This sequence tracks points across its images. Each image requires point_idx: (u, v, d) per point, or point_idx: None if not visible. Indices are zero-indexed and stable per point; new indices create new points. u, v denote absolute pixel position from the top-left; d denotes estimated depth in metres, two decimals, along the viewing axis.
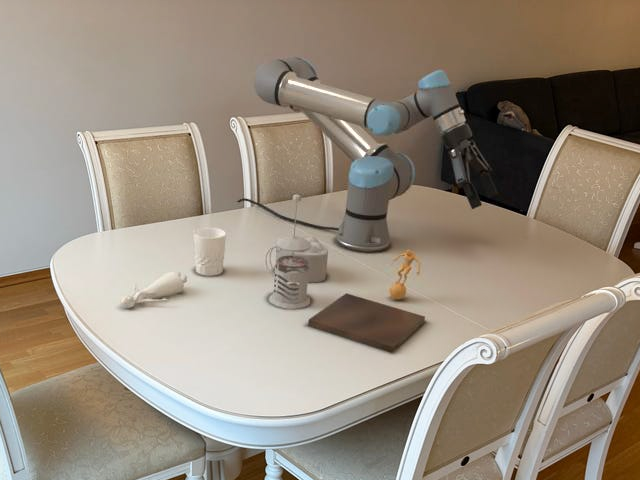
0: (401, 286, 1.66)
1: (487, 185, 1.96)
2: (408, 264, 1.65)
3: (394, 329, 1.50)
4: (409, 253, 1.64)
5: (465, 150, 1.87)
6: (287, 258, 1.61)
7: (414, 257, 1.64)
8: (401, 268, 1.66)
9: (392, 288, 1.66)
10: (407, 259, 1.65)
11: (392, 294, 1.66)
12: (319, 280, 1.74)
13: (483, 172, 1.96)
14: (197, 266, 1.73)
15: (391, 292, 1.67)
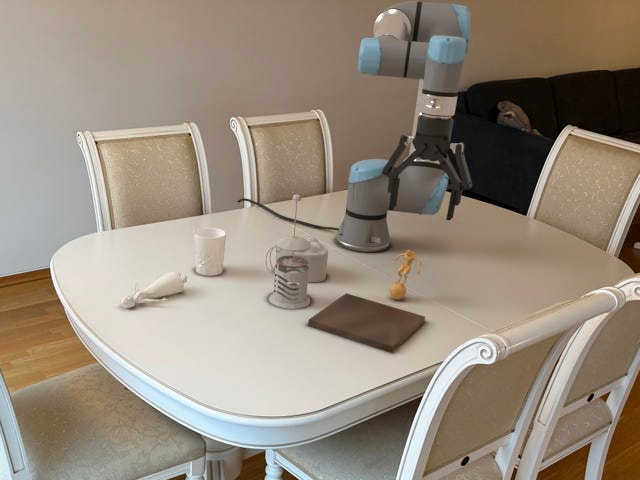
0: (401, 286, 1.66)
1: None
2: (408, 264, 1.65)
3: (394, 329, 1.50)
4: (409, 253, 1.64)
5: (419, 146, 1.52)
6: (287, 258, 1.61)
7: (414, 257, 1.64)
8: (401, 268, 1.66)
9: (392, 288, 1.66)
10: (407, 259, 1.65)
11: (392, 294, 1.66)
12: (319, 280, 1.74)
13: None
14: (197, 266, 1.73)
15: (391, 292, 1.67)
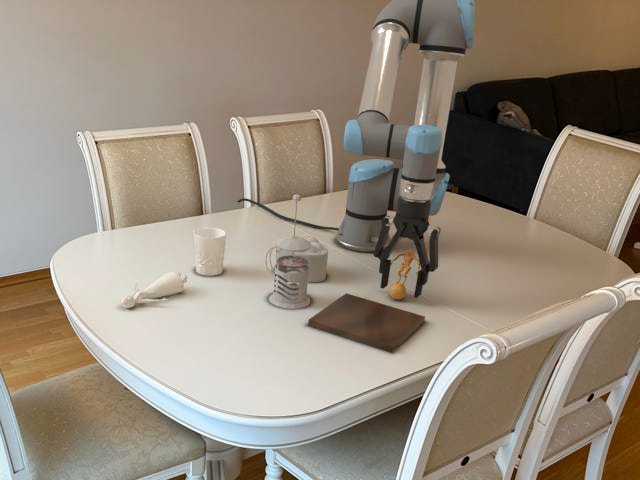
0: (401, 286, 1.66)
1: None
2: (408, 264, 1.65)
3: (394, 329, 1.50)
4: (409, 253, 1.64)
5: None
6: (287, 258, 1.61)
7: (414, 257, 1.64)
8: (401, 268, 1.66)
9: (392, 288, 1.66)
10: (407, 259, 1.65)
11: (392, 294, 1.66)
12: (319, 280, 1.74)
13: None
14: (197, 266, 1.73)
15: (391, 292, 1.67)
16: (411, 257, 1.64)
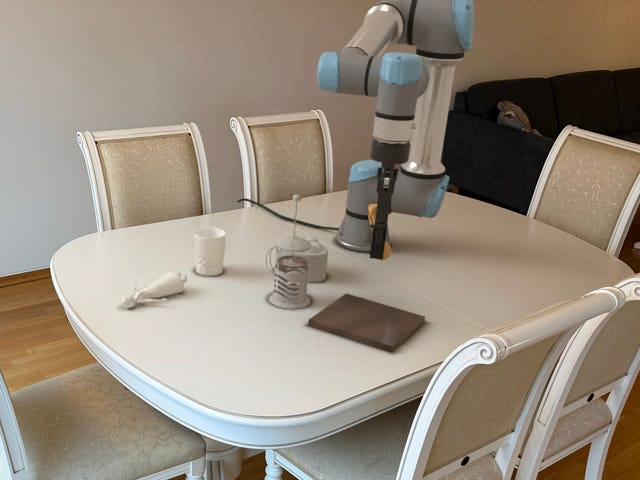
0: (385, 242, 1.47)
1: None
2: None
3: (394, 329, 1.50)
4: None
5: (394, 178, 1.37)
6: (287, 258, 1.61)
7: None
8: None
9: (389, 248, 1.45)
10: None
11: (390, 253, 1.46)
12: (319, 280, 1.74)
13: None
14: (197, 266, 1.73)
15: (389, 253, 1.46)
16: None
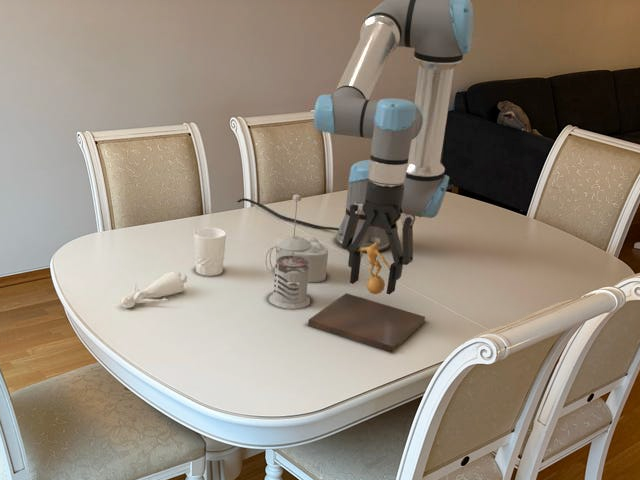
0: None
1: (357, 267, 1.51)
2: None
3: (394, 329, 1.50)
4: None
5: None
6: (287, 258, 1.61)
7: None
8: None
9: None
10: None
11: None
12: (319, 280, 1.74)
13: (356, 249, 1.50)
14: (197, 266, 1.73)
15: None
16: None
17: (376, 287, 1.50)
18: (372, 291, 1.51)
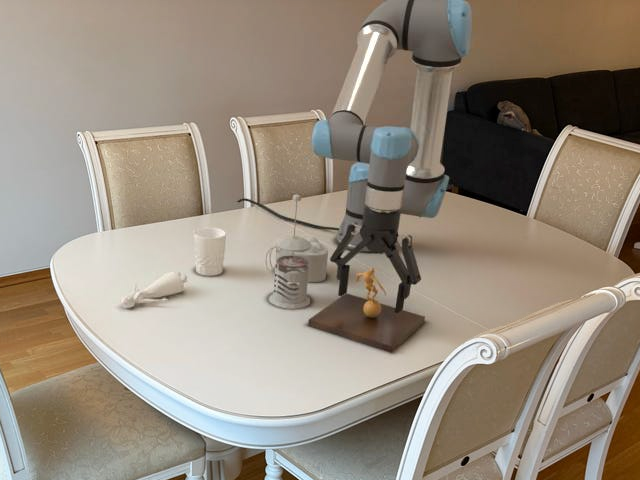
0: None
1: (345, 280, 1.54)
2: None
3: (394, 329, 1.50)
4: None
5: None
6: (287, 258, 1.61)
7: None
8: None
9: None
10: None
11: None
12: (319, 280, 1.74)
13: (344, 263, 1.53)
14: (197, 266, 1.73)
15: None
16: None
17: (373, 311, 1.53)
18: (369, 315, 1.53)
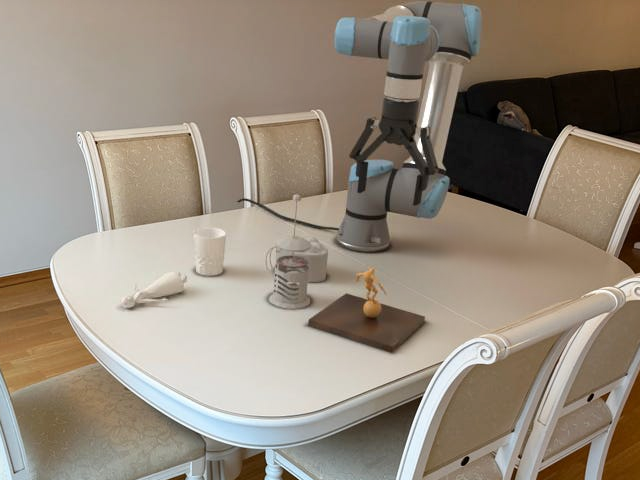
0: None
1: (364, 177, 1.58)
2: None
3: (394, 329, 1.50)
4: None
5: None
6: (287, 258, 1.61)
7: None
8: None
9: None
10: None
11: None
12: (319, 280, 1.74)
13: (363, 159, 1.57)
14: (197, 266, 1.73)
15: None
16: None
17: (373, 311, 1.53)
18: (369, 315, 1.53)
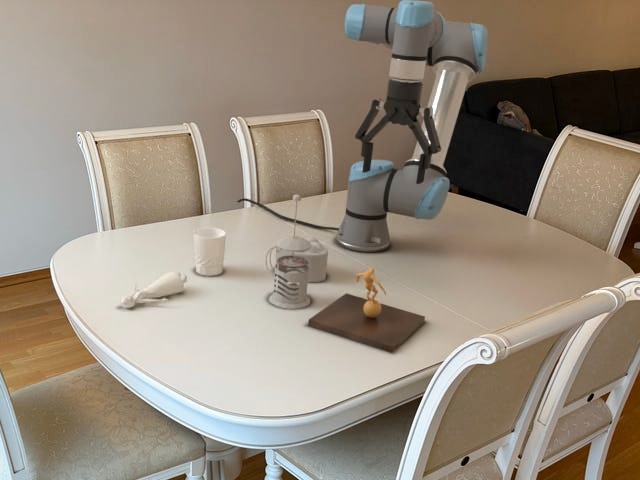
0: None
1: (369, 157, 1.64)
2: None
3: (394, 329, 1.50)
4: None
5: None
6: (287, 258, 1.61)
7: None
8: None
9: None
10: None
11: None
12: (319, 280, 1.74)
13: (368, 140, 1.63)
14: (197, 266, 1.73)
15: None
16: None
17: (373, 311, 1.53)
18: (369, 315, 1.53)
